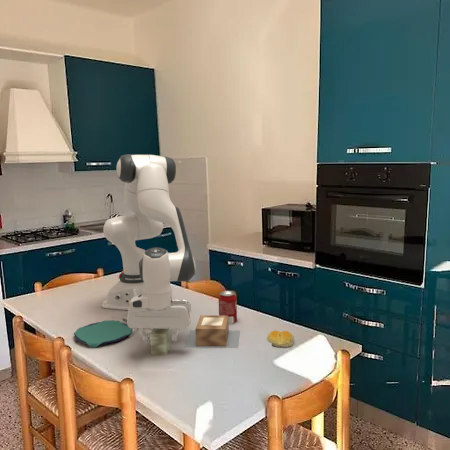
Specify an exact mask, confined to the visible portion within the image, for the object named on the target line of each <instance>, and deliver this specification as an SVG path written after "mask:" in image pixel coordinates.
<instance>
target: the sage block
mask: <svg viewBox="0 0 450 450" xmlns="http://www.w3.org/2000/svg"><path fill="white" fill-rule="evenodd" d="M149 337H150V338H149V339H150V354H151V355H153V356H154V355H162V356H163V355H164V356H167V355H168V353H169V351H170V349H171V344H170V329H156V328H152V330H151V331H150V334H149Z"/></svg>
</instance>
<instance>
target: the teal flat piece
mask: <svg viewBox="0 0 450 450" xmlns="http://www.w3.org/2000/svg"><path fill="white" fill-rule="evenodd" d="M122 321H125V322H121V321H120V320H109V319H108V320H102V321H98V322H95V323H89V324H87V325H84V326H80V327H78V328H77V329H76V330H75V332H74V333H73V335H74V336H73V337H74V339H75V340H76V341H77V342H80V343H81V344H87V345H88V346H89V347H90V348H93V349H95V348H98V346H99V345H106V344H111V343H115V342H118V341H120V340H123V339H125V338H126V337H130V336H131V334H132V333H133V331H134V330H133V329H134V328H129V327H128V325H127V323H126V322H127V319H125V318H124V317H123V318H122ZM137 330H139V328H137Z"/></svg>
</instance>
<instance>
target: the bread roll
mask: <svg viewBox="0 0 450 450" xmlns="http://www.w3.org/2000/svg"><path fill="white" fill-rule="evenodd" d="M266 339H267V341H268V342H269V343H271V346H272V347H275V348H276V347H277V348H279V347H282V348H289V347H292V346H293V345H294V343H295V341H294V340H295V335H294V334H292V333H291V332H290V331H287V330H283V331H280V330H272V331H270V332H269V333H268V335H267V336H266Z"/></svg>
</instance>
